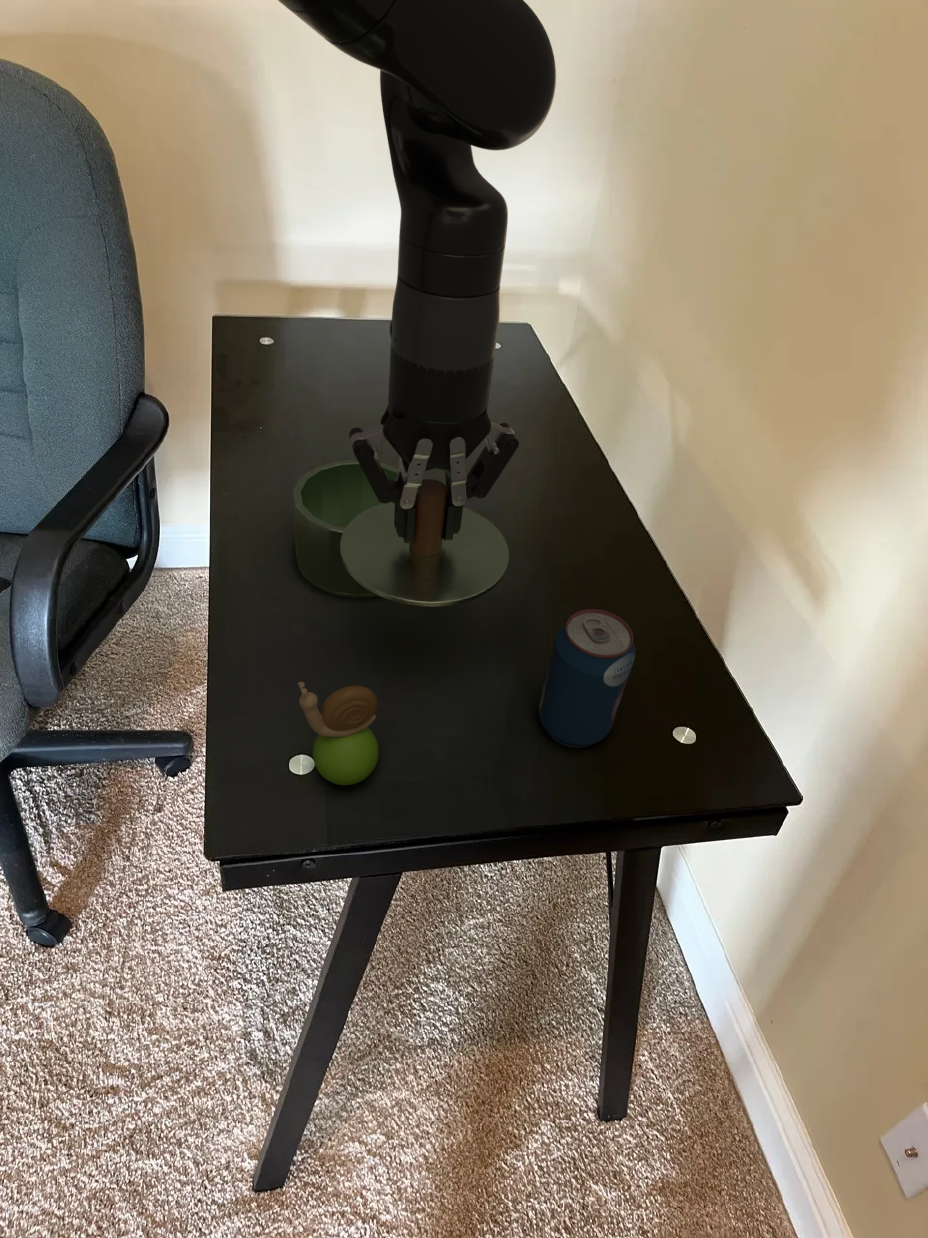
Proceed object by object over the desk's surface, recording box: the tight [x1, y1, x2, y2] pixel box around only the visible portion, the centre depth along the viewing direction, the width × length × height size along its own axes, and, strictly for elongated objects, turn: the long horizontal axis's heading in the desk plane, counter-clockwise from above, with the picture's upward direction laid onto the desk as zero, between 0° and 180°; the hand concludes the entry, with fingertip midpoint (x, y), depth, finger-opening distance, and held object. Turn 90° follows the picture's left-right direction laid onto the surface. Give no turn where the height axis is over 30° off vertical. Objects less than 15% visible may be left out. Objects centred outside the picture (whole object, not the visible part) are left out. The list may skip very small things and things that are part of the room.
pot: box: [292, 459, 399, 599], centre depth 89 cm, size 14×14×8 cm
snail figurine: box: [297, 681, 380, 786], centre depth 66 cm, size 5×6×12 cm
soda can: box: [537, 608, 636, 749], centre depth 73 cm, size 7×7×12 cm
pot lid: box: [340, 478, 510, 608], centre depth 70 cm, size 15×15×7 cm
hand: (426, 535), depth 71 cm, fingers closed on pot lid, 3 cm apart
